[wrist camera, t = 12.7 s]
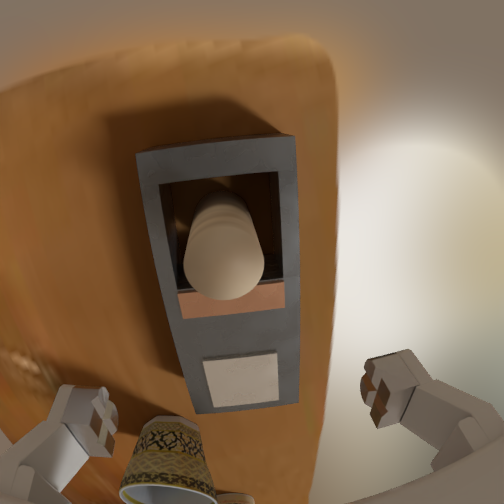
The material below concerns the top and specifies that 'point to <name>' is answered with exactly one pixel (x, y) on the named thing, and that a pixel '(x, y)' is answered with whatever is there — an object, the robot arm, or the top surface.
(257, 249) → the peg
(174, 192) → the top surface
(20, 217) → the top surface
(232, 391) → the grey slotted box
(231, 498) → the coffee cup
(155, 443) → the ceramic cup
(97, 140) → the top surface
